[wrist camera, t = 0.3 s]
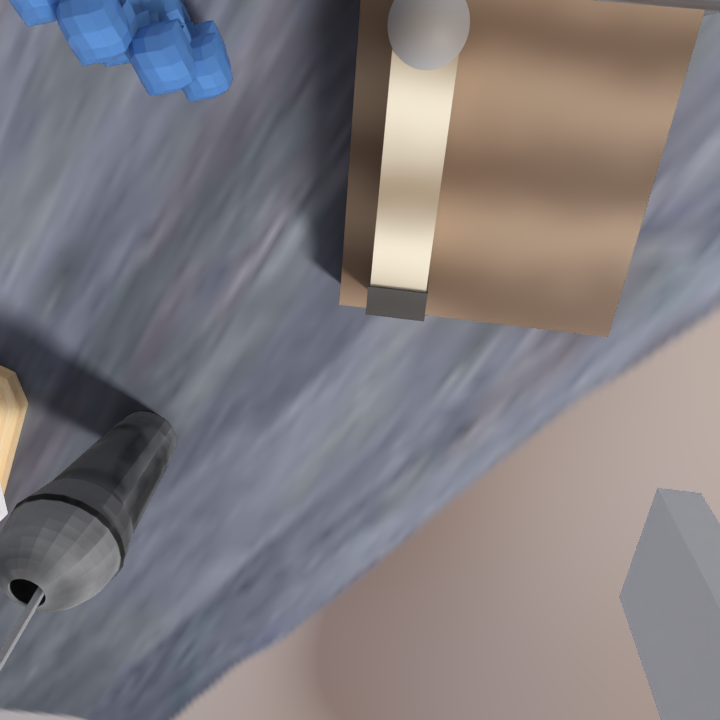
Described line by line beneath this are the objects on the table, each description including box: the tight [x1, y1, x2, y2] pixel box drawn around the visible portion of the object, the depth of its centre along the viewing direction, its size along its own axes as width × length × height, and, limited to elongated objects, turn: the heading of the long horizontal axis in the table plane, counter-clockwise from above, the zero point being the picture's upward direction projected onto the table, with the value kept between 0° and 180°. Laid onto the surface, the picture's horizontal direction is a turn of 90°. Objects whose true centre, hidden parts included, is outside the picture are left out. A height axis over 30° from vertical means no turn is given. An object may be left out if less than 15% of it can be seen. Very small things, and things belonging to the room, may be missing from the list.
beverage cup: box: [0, 411, 177, 670], centre depth 38 cm, size 7×7×20 cm
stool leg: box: [366, 0, 470, 321], centre depth 31 cm, size 16×4×3 cm, turn 175°
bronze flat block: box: [339, 0, 720, 337], centre depth 31 cm, size 19×17×7 cm
